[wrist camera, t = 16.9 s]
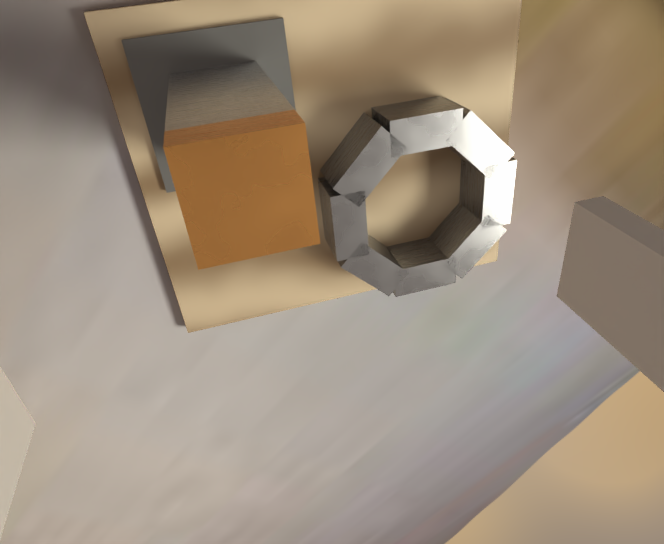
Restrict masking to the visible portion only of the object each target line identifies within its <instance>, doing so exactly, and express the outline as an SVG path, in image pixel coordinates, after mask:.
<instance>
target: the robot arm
mask: <svg viewBox="0 0 664 544" xmlns="http://www.w3.org/2000/svg"><path fill="white" fill-rule="evenodd" d="M557 297H558V298H560V299H561V300H562V301H563V302H564V303H565V304H566V305H567V306H568V307H570V308H571V309H572V310H573V311H574V312H575V313H576V314H577V315H579V316H580V317H581V318H582V319H583V320H584V321H585V322H586V323H587V324H589V325H590V326H591V327H592V328H593V329H594V330H595V331H596V332H597V333H599V334H600V335H601V336H602V337H603V338H604V339H605V340H606V341H608V342H609V343H610V344H611V345H612V346H613V347H614V348H615V349H616V350H618V351H619V352H620V353H621V354H622V355H623V356H624V357H625V358H627V359H628V360H629V361H630V362H631V363H632V364H633V365H634V366H635V367H637V368H638V369H639V370H640V371H641V372H642V373H643V374H644V375H645V376H647V377H648V378H649V379H650V380H651V381H652V382H653V383H654V384H656V385H657V386H658V387H659V388H660V389H661V390H662V391H663V392H664V230H662V229H661V228H659V227H657V226H655V225H654V224H652V223H650V222H648V221H646V220H645V219H643V218H641V217H639V216H638V215H636V214H634V213H632V212H630V211H629V210H627V209H625V208H623V207H622V206H620V205H618V204H616V203H614V202H613V201H611V200H609V199H607V198H606V197H604V196H602V197H597V198H592V199H587V200H583V201H578V202H575V204H574V209H573V214H572V219H571V225H570V230H569V235H568V240H567V245H566V251H565V256H564V261H563V266H562V272H561V277H560V282H559V287H558V292H557ZM35 425H36V423H35V422H34V420H33V418H32V417H31V415H30V414H29V412H28V410H27V409H26V407H25V406H24V404H23V402H22V401H21V399H20V397H19V396H18V394H17V393H16V391H15V389H14V388H13V386H12V385H11V383H10V381H9V380H8V378H7V377H6V375H5V373H4V372H3V370H2V368H1V367H0V538H1V535H2V532H3V528H4V525H5V522H6V519H7V515H8V512H9V509H10V506H11V502H12V499H13V496H14V493H15V489H16V486H17V483H18V480H19V476H20V473H21V470H22V467H23V464H24V460H25V457H26V454H27V451H28V447H29V444H30V441H31V438H32V434H33V431H34V428H35Z"/></svg>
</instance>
